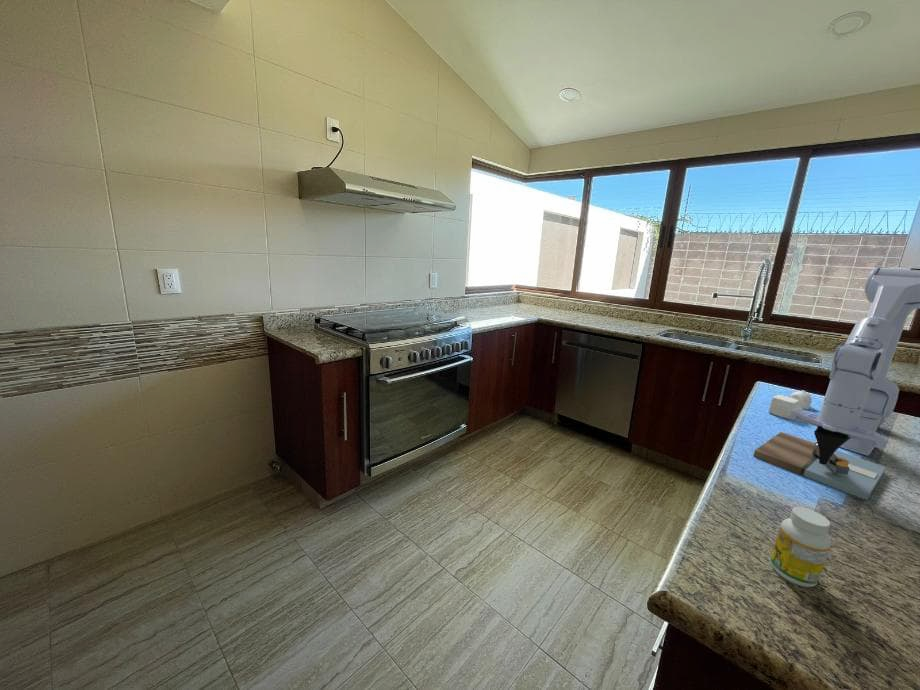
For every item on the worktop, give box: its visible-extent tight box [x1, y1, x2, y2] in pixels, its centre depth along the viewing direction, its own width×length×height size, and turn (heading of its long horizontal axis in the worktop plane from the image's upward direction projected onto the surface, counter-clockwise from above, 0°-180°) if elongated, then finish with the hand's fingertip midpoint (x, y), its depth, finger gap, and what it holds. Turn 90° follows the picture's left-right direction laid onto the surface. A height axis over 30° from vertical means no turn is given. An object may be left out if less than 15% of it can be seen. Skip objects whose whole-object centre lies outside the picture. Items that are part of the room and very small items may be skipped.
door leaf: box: [802, 449, 887, 501], centre depth 81 cm, size 18×10×2 cm, turn 125°
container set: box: [768, 389, 812, 420], centre depth 115 cm, size 20×5×6 cm, turn 123°
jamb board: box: [753, 431, 818, 476], centre depth 88 cm, size 18×9×2 cm, turn 125°
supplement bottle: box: [769, 506, 832, 588], centre depth 54 cm, size 5×5×10 cm
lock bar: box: [812, 441, 850, 475], centre depth 81 cm, size 10×2×3 cm, turn 158°
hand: (823, 463), depth 80 cm, fingers closed
